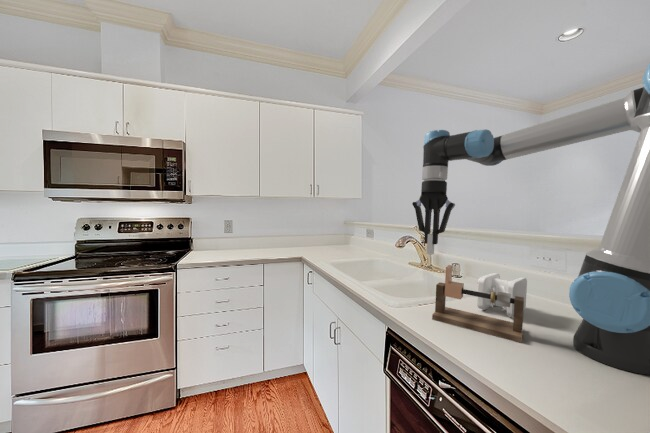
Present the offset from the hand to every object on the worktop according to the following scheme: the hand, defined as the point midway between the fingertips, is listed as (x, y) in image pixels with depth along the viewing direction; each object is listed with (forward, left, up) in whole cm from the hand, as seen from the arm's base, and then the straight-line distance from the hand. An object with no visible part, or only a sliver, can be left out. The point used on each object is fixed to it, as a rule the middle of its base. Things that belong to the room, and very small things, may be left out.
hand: (430, 253), depth 87 cm
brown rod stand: (-14, 0, -19) cm, 24 cm away
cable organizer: (-19, -19, -19) cm, 33 cm away
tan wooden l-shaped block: (-8, 0, -12) cm, 14 cm away
